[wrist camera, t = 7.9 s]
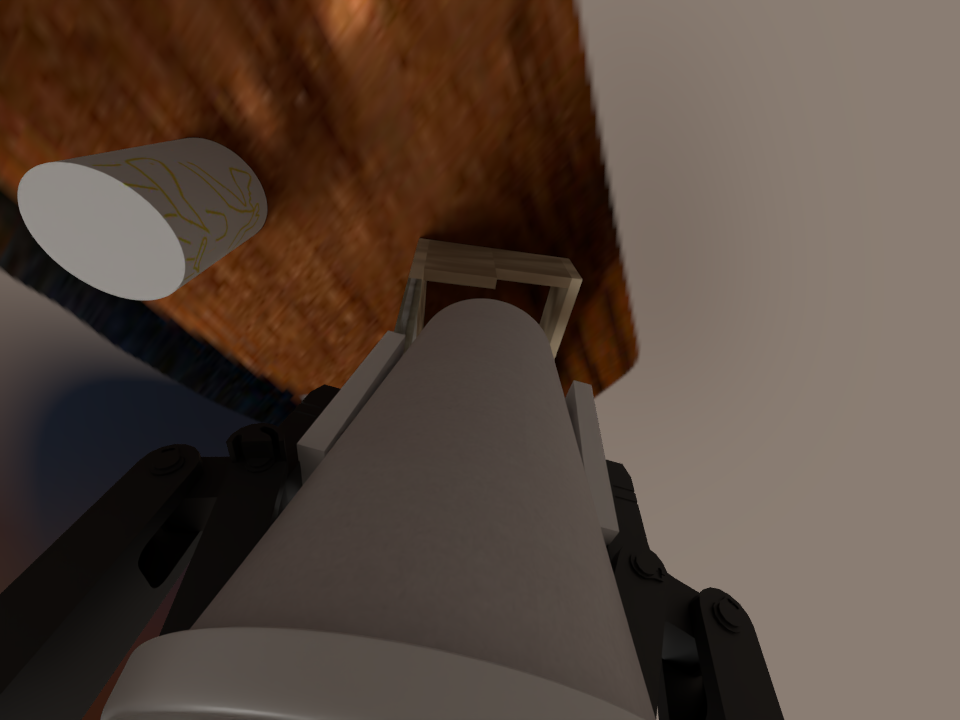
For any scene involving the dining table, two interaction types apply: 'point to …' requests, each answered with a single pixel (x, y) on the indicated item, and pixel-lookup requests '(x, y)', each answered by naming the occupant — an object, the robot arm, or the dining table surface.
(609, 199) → the dining table surface
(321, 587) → the coffee cup
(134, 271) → the white cylinder
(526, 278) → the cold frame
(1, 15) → the dining table surface
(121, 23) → the dining table surface
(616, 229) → the dining table surface
